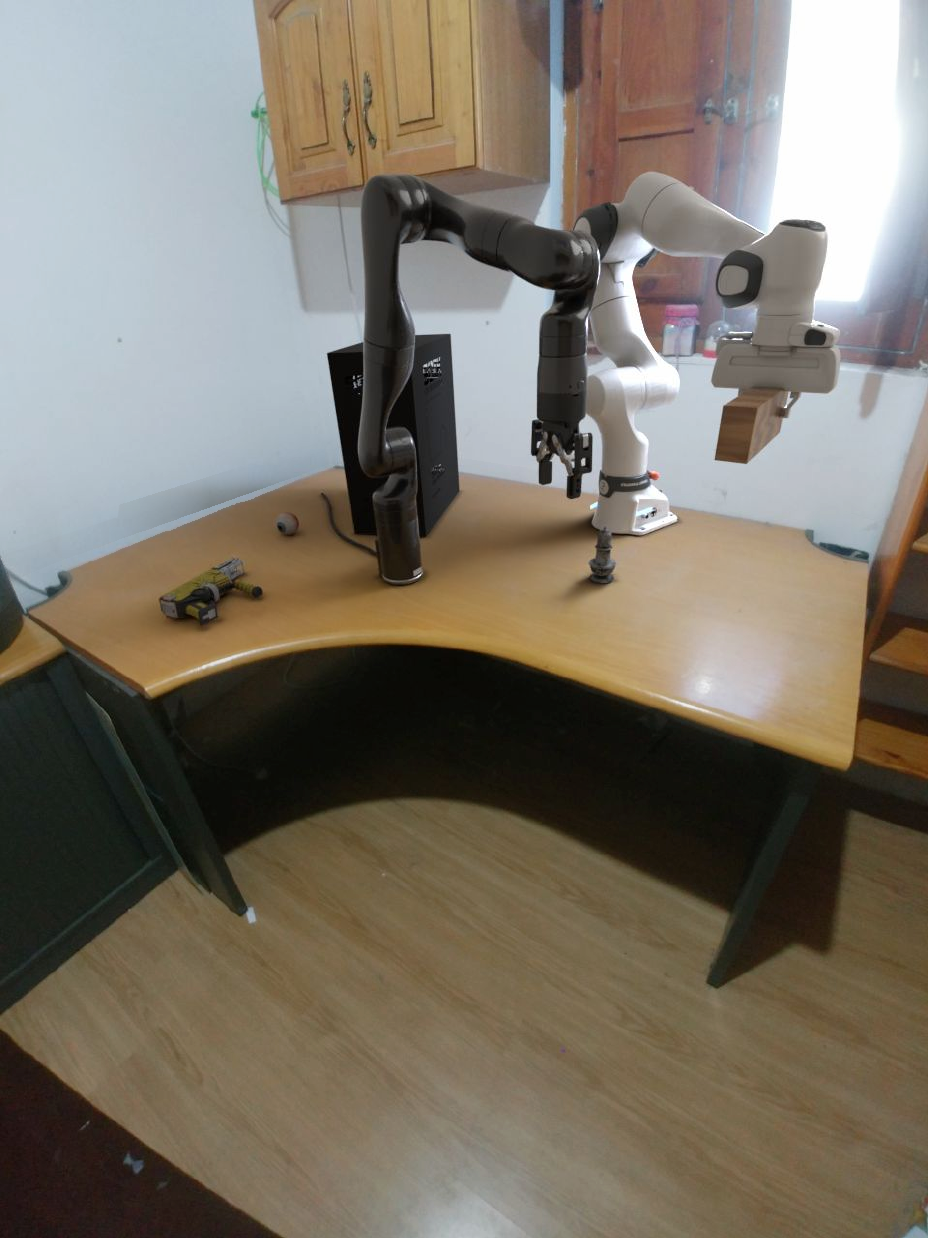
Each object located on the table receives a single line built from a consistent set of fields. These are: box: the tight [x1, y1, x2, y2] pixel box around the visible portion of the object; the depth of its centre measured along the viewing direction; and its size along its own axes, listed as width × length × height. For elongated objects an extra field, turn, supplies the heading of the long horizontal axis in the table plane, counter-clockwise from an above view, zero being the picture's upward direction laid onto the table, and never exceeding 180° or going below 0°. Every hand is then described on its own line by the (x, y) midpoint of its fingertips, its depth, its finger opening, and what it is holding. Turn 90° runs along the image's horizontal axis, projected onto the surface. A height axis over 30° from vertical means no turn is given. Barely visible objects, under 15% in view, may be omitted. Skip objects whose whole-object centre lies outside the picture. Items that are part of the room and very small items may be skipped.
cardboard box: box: [326, 333, 460, 538], centre depth 165 cm, size 38×20×45 cm, turn 167°
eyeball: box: [275, 511, 300, 536], centre depth 163 cm, size 6×6×6 cm
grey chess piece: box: [588, 527, 617, 584], centre depth 129 cm, size 6×6×12 cm
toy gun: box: [158, 557, 263, 626], centre depth 132 cm, size 5×24×15 cm
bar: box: [713, 387, 790, 465], centre depth 104 cm, size 23×5×9 cm, turn 144°
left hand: (558, 490), depth 99 cm, fingers open, 8 cm apart
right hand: (764, 415), depth 110 cm, fingers closed on bar, 5 cm apart
